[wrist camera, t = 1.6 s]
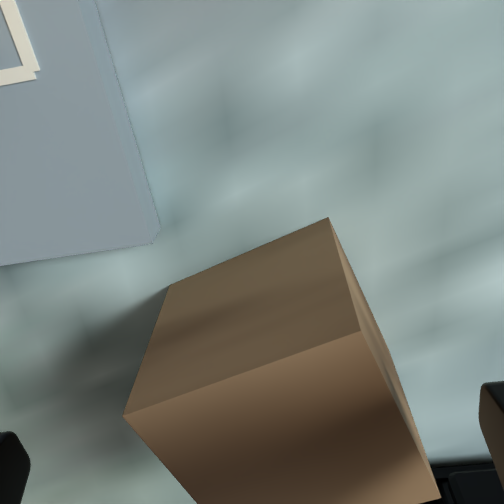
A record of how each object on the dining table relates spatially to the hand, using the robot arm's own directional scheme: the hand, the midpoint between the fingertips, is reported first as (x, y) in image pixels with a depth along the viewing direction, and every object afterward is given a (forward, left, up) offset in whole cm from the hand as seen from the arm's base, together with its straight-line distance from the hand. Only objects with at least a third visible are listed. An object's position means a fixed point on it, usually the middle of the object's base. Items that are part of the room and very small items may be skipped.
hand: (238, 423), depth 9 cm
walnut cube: (-1, -1, -5) cm, 6 cm away
